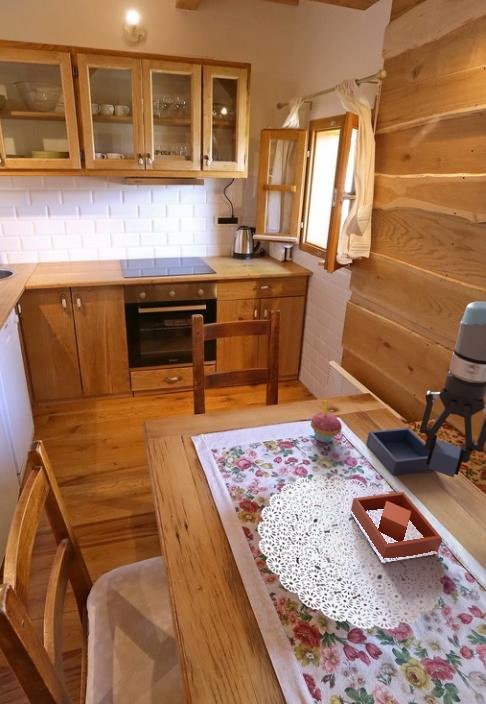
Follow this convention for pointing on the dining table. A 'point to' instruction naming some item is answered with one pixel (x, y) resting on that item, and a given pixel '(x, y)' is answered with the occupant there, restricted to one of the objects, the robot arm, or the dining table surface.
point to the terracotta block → (394, 521)
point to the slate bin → (399, 451)
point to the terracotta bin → (418, 520)
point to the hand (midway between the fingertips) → (442, 465)
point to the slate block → (445, 458)
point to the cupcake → (325, 425)
